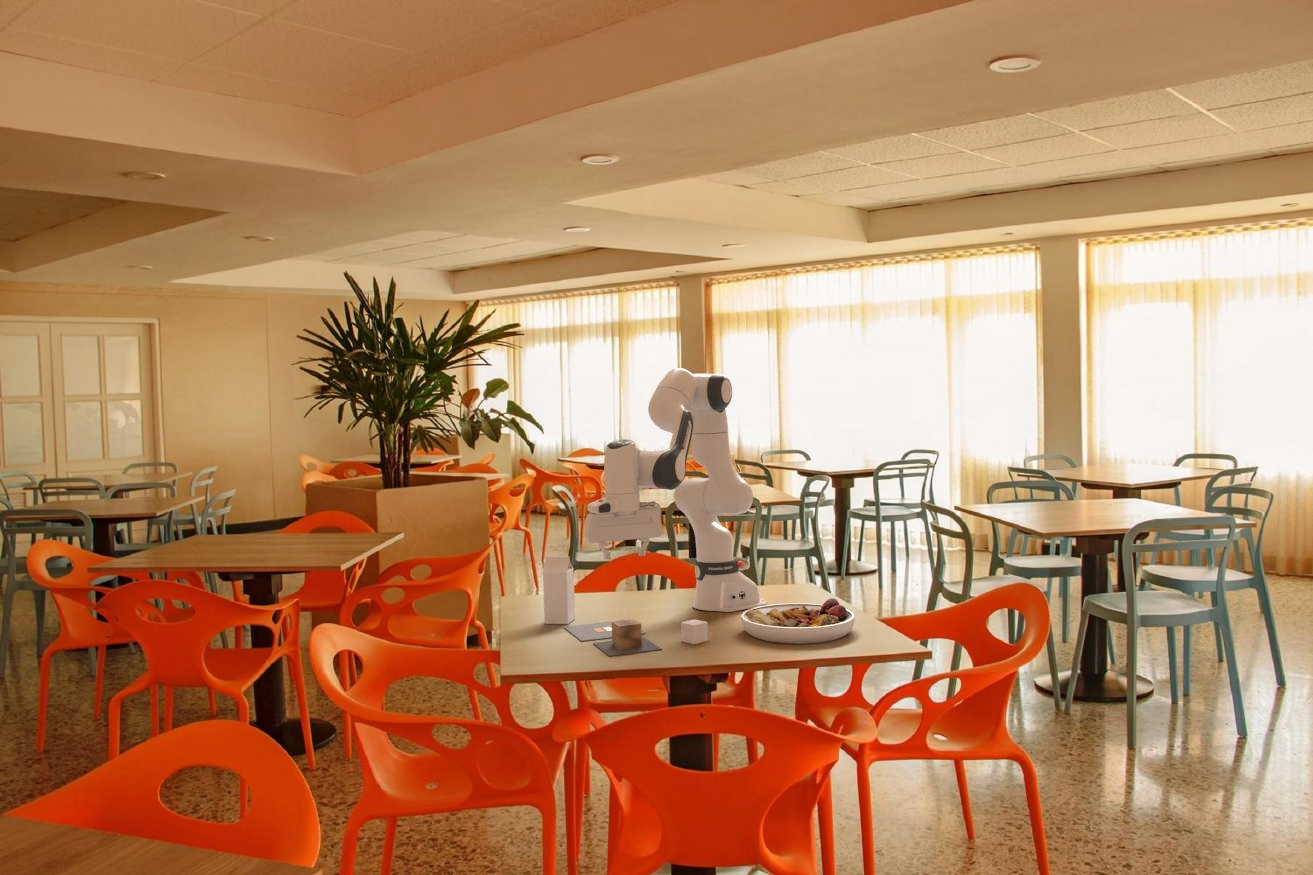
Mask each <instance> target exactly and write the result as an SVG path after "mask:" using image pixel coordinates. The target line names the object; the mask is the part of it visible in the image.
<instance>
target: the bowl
mask: <svg viewBox="0 0 1313 875" xmlns="http://www.w3.org/2000/svg"><path fill="white" fill-rule="evenodd" d="M855 619H856V618H855V613H854V612H852V611H851V610H849V609H846V606H844V605H842V604H840V603H839V601H838V600H837V599H836V598H828V599H826V600H825V601H824V603H823V604H820V603H803V602H802V603H794V602H793V603H792V602H791V603H778V604H777V603H776V604H769V605H768V604H767V605H766V606H761V607H755V608H750V609H746V610H745V611H743V612H742V613H741V615H740V621H741V625H742V628H743V629H744V631H745V632H747V634H749V635H750V636H752V637H753V638H756V639H759V640H760V641H761V640H762V641H765V642H766V641H767V642H770V643H779V644H790V645H791V644H795V645H796V644H797V645H801V644H803V645H804V644H817V643H819V644H820V643H826V642H831V641H835V640H838V639H840V638H843V637H845V636H847V635H848V634H849V633H850V632H851V631H852V629H853V627H854V625H855Z"/></svg>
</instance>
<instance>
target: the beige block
mask: <svg viewBox="0 0 1313 875" xmlns="http://www.w3.org/2000/svg"><path fill="white" fill-rule="evenodd" d="M708 625H709V622H708V621H704V620H700V619H699V620H698V619H695V618H694V619H690V620H689V619H688V620H686V621H681V622H680V641H681V642H683V643H688V644H691V645H697V644H700V643H704V642H705V643H706V642H708V641H709V628H708V627H709V626H708Z"/></svg>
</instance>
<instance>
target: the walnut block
mask: <svg viewBox="0 0 1313 875" xmlns="http://www.w3.org/2000/svg"><path fill="white" fill-rule="evenodd" d="M621 620H622V621H619V620H612V621H613V622H612V638H611V639H612V640H611V641H612V645H614V646H615V647H616V648H618V649H619V650H622V649H630V648H638V647H642V637H643V636H642V635H643V634H642V633H641V630H642V623H640V622H639V621H637V620H635V618H632V619H621Z"/></svg>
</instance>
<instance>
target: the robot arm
mask: <svg viewBox="0 0 1313 875" xmlns="http://www.w3.org/2000/svg"><path fill="white" fill-rule="evenodd" d="M732 398H733V387H732V383H731V381H730V379H729V378H728V377H727V375H724V374H722V373H715V372H714V373H701V372H700V373H692V372H691V371H689V370H687V369H685V368H682V367H681V368H680V367H679V368H673V369H671V370H669V371H668V372H667V373H666V374H665V375H664V376H663V378H662V379H661V381H660V382H659V384H658V385H657V386H656V388H655V390H654V391H653V393H652V396H651V397H650V400H649V402H648V407H647V410H648V415H649V417H650V418H649V419H651V421H652V423H653V424H654V425H655V426H656V427H657V428H659V429H660V430H662V431H664V432H667V433H671V434H672V436H671V438H670V439H671V440H670V442H669V447H668V448H666V449H663V450H661V451H659V450H658V451H657V450H655V451H651V450H649V451H647V450H646V451H645V450H641V449H638V448H637V446H636V443H635V441H634V440H631V439H619V440H614V441H611V442H609V443H607V445H606V446H605V450H604V451H605V452H604V460H603V462H604V463H603V467H604V468H603V470H604V471H603V473H604V475H603V476H604V480H605V490H604V497H602V498H600V499H597V500H595V501H592V502H590V503H588V504H587V508H586V509H587V512H589V513H587V514H586V517H585V520H584V540H586V542H587V543H591V544H594V543H597V544H598V546H599V548H600V550H601V551H602V555H603V559H604V560H611V558H612V557H611V555H612V554H611V551H607V548H606V546H607V543H608V542H619V541H628V540H639V539H640V540H641V542H643V543H642V545H641V547H640V548H637V551H638V552H637V553H638V554H637V555H638V557H643V556H644V557H645V556H646V555H647V554H646V549H647V548H648V545H649V543H650V538H651V539H652V538H660V537H661V536H662V534H663V526H662V525H663V524H662V519H661V515H662V508H661V507H662V506H661V505H660V504H659V503H657V502H656V501H641V500H640V489H639V488H642V489H645V488H646V489H660V490H669V491H673V490H674V493H673V499H674V503H675V505H676V507H677V508H678V510H680V511H681V512H682V513H683V514H684V515H685V516H686V518H687V520H688V521H689V523H690V525H691V527H692V530H693V532H694V537H695V548H696V560H695V565H694V568H695V569H694V570H695V571H694V573H695V578H696V585H695V595H694V599H693V600H694V601H693V604H692V607H693V608H694V609H695V610H696V609H697V610H698V611H699V610H701V611H707V612H708V611H709V612H723V613H731V612H736V611H742V610H749V609H752V608H756V607H761V606H767V605H768V602H767V600H766V599H765V598H763V597H760V592H759V589H758V586H757V584H756V583H755V582H754V581H753V580H752V579H751V578H749V577H748V576H747V575H745V574H744V573H743V572H741V571H740V569H744V568H745V566H746V563H745V561H742V560H737V559H735V558H734V545H733V541H734V540H733V535H732V533H731V531H730V530H729V529H728V528H726V527H725V526H724V525H722V523H721V522H720V520H719V518H718V516H720V515H721V516H736V515H741V514H745V513H747V512H748V511H750V510H749V509H750V508H751V507H752V505H753V501H754V492H753V489H752V486H751V485H750V484H749V482H747V481H746V480H744V478H742V477H741V475H740V474H739V473H738V471H737V470H736V468H735V466H734V463H733V460H732V457H731V451H730V450H731V448H730V439H729V438H730V437H729V424H728V417H727V412H726V411H727V410H726V408H727V407H729V405H730V403H731V401H732ZM690 446H691V448H692V450H691V451H692V457H693V460H694V462H696V463H697V464H698V465H700V466H701V467H702V468H703V469H704V470H705V471H706V473H707V476H708V477H693V478H687V479H685V477H686V472H687V459H688V455H689V451H690ZM640 501H641V502H640ZM739 568H740V569H739Z"/></svg>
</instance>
